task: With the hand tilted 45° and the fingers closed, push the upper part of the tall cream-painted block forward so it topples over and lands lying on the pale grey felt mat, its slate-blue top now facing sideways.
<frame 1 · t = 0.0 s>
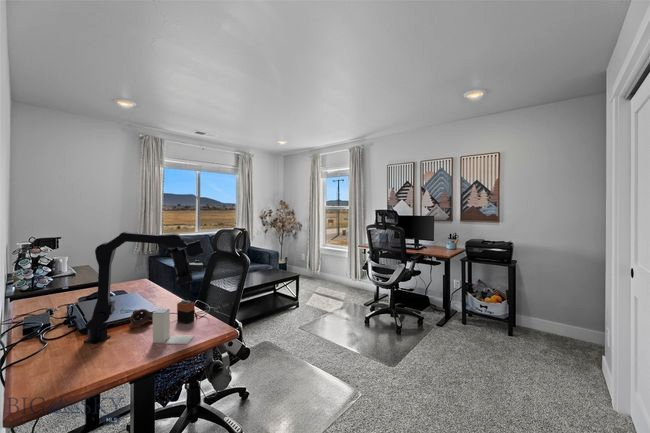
hand: (189, 292, 134), 15 cm above the table, tool pointing down, fingers open, 9 cm apart
cream block: (161, 340, 121), on the table
felt mat: (179, 340, 121), on the table
battery: (185, 321, 140), on the table
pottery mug: (141, 325, 135), on the table
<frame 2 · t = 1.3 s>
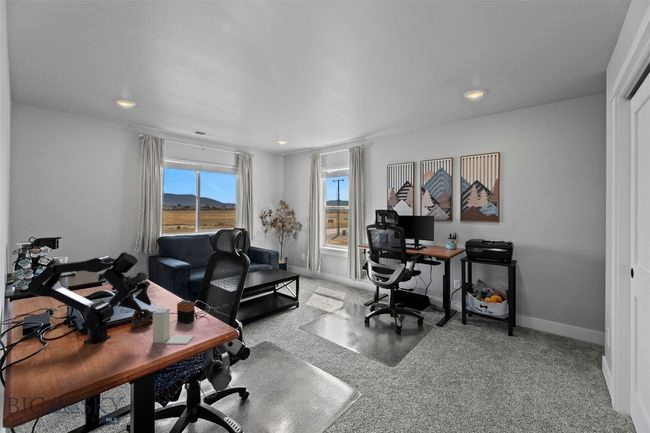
hand: (145, 307, 120), 13 cm above the table, tool tilted 45°, fingers open, 6 cm apart
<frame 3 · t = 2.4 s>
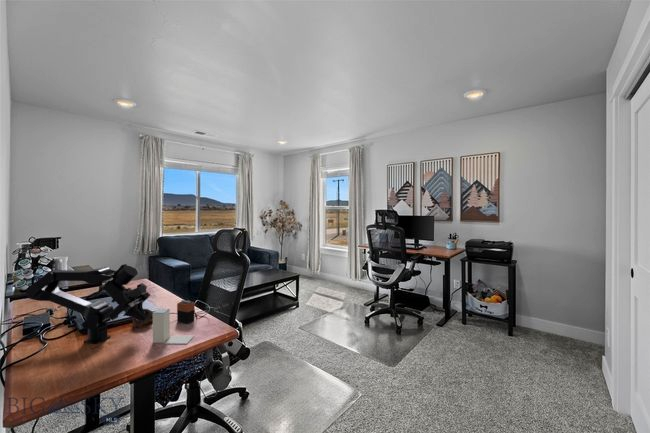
hand: (145, 319, 120), 9 cm above the table, tool tilted 45°, fingers closed
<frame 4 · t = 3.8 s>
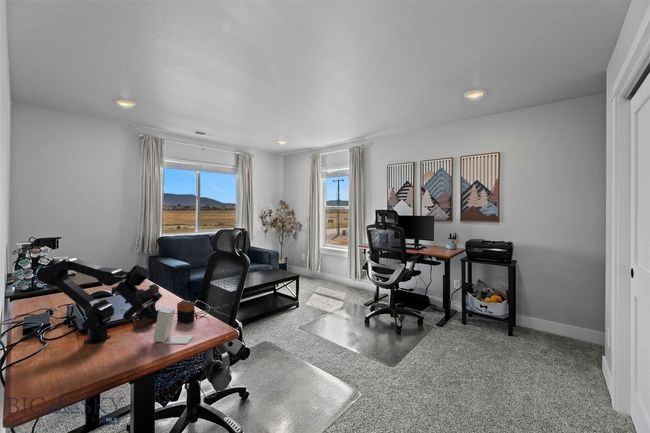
hand: (158, 320, 120), 8 cm above the table, tool tilted 45°, fingers closed
cream block: (161, 339, 121), on the table, tilted 11°
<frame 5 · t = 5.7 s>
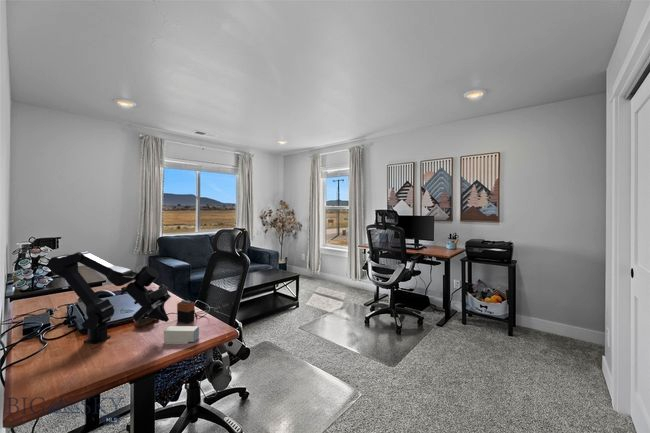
hand: (167, 320, 120), 8 cm above the table, tool tilted 45°, fingers closed
cream block: (166, 333, 120), point 3 cm above the table, tilted 90°, touching felt mat
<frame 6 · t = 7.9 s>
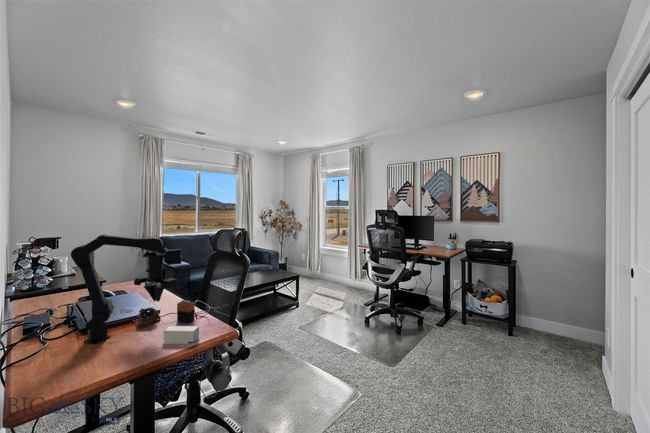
hand: (156, 301, 129), 13 cm above the table, tool pointing down, fingers closed
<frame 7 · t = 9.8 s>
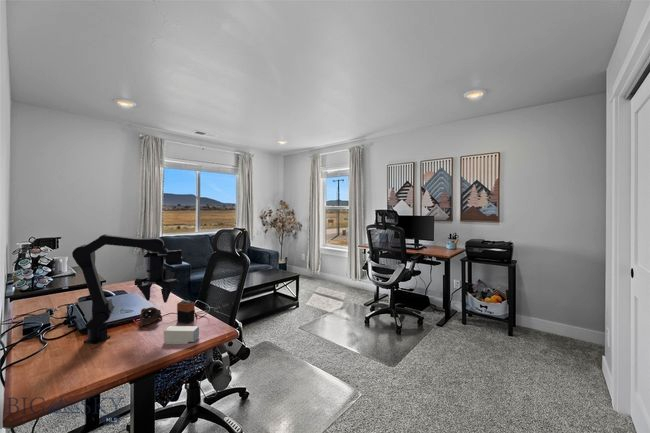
hand: (156, 301, 129), 13 cm above the table, tool pointing down, fingers open, 9 cm apart
at the end: cream block tilted 90°; cream block inside the target area (6.6 cm from its centre), point 2.6 cm above the table; the gripper is holding nothing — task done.
